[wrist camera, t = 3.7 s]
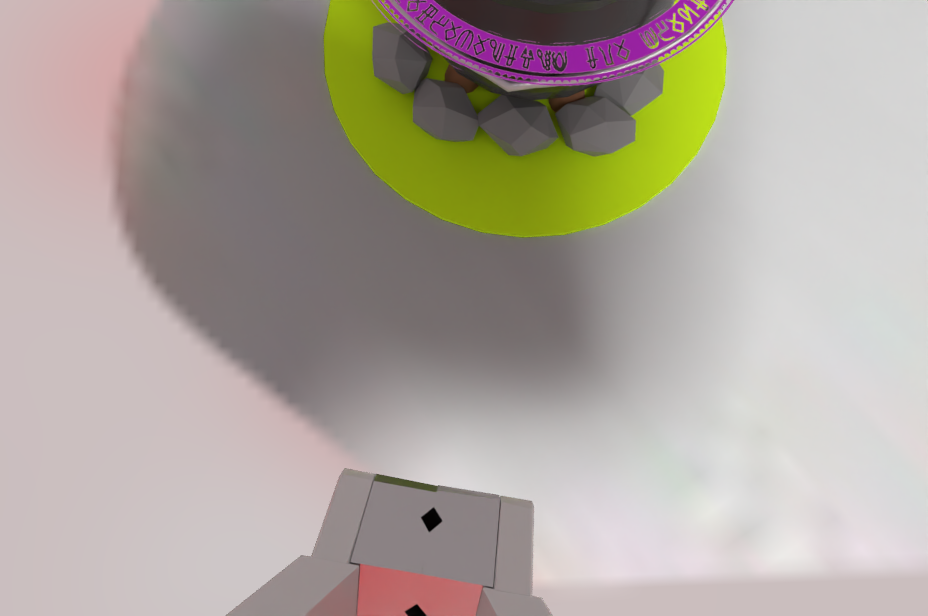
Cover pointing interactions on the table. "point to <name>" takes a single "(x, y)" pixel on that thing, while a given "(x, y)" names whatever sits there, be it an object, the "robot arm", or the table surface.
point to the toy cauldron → (526, 103)
